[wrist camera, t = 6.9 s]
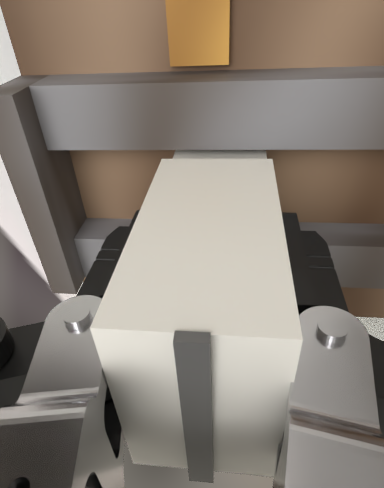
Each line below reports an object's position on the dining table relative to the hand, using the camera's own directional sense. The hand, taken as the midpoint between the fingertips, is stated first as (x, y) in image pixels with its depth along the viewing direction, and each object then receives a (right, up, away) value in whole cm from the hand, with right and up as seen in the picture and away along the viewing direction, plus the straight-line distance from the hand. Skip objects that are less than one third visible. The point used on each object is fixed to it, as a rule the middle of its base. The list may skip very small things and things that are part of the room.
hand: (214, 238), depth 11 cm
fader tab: (0, +2, +3) cm, 4 cm away
